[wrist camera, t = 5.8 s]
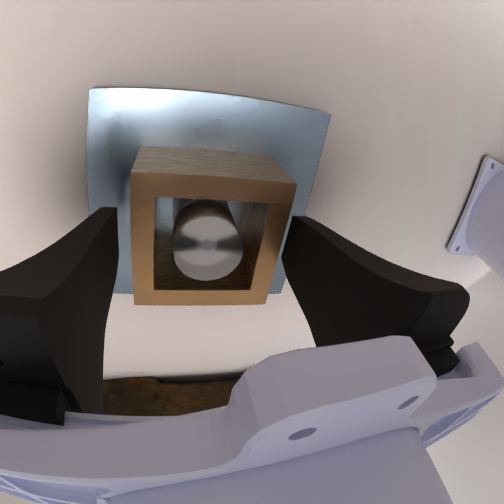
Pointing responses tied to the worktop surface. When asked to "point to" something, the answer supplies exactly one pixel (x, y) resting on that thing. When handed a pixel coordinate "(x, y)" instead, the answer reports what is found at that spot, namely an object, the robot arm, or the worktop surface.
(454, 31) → the worktop surface
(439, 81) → the worktop surface
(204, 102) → the piston plate
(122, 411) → the dark brown long piece
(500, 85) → the worktop surface
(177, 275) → the square wooden frame
